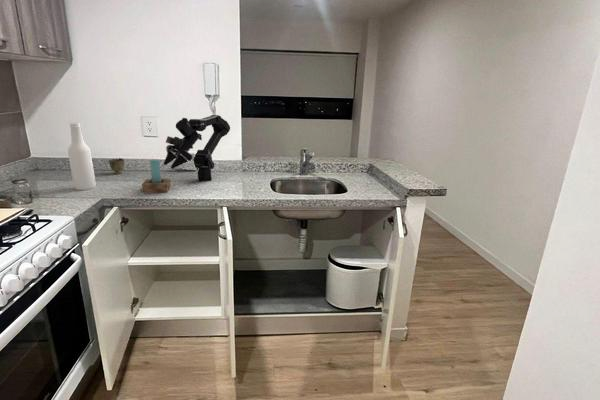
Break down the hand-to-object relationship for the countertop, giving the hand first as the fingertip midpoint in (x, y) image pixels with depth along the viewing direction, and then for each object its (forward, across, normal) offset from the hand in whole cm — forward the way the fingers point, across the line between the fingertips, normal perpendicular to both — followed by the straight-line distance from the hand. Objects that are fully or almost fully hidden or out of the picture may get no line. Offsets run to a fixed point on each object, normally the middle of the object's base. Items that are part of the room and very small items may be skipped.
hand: (167, 166), depth 164 cm
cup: (+16, -44, -1) cm, 47 cm away
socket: (+12, 0, +3) cm, 12 cm away
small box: (-10, -32, +25) cm, 42 cm away
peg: (+12, 0, +3) cm, 12 cm away
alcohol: (+30, -21, -15) cm, 40 cm away
